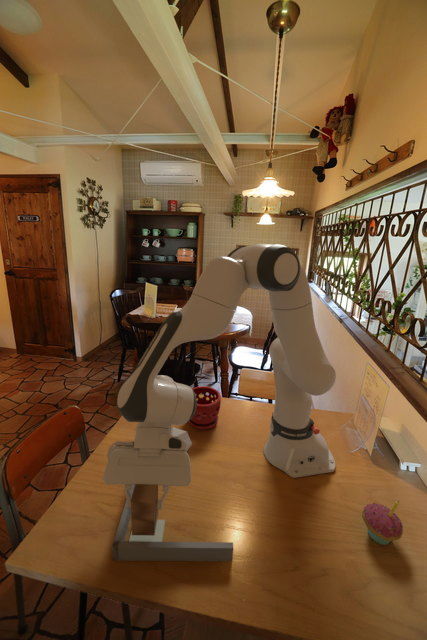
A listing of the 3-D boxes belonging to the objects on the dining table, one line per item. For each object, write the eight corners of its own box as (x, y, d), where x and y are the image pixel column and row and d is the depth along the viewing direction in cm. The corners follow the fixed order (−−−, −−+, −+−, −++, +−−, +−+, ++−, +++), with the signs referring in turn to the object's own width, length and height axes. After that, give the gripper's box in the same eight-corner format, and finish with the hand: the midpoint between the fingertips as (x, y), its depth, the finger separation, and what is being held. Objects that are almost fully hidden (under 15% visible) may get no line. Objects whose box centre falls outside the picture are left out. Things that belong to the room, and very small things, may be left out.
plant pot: (190, 409, 115) (191, 383, 112) (221, 414, 113) (223, 388, 109) (180, 430, 103) (181, 401, 99) (215, 436, 100) (217, 407, 97)
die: (196, 450, 94) (187, 420, 96) (192, 457, 85) (182, 424, 88) (172, 459, 94) (163, 429, 96) (166, 466, 85) (156, 433, 88)
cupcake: (393, 525, 72) (404, 488, 68) (403, 559, 64) (416, 520, 60) (356, 513, 74) (365, 477, 71) (361, 545, 66) (372, 506, 63)
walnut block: (158, 514, 67) (158, 481, 65) (154, 535, 63) (154, 500, 60) (137, 513, 67) (136, 480, 64) (131, 535, 62) (130, 500, 60)
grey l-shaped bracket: (226, 484, 81) (227, 473, 80) (232, 561, 62) (233, 548, 61) (135, 482, 80) (135, 471, 79) (113, 560, 61) (112, 547, 60)
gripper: (106, 439, 66) (93, 509, 60) (192, 442, 67) (189, 511, 60) (113, 442, 72) (101, 506, 65) (193, 444, 73) (189, 508, 66)
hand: (144, 509), depth 63 cm, fingers closed on walnut block, 5 cm apart
